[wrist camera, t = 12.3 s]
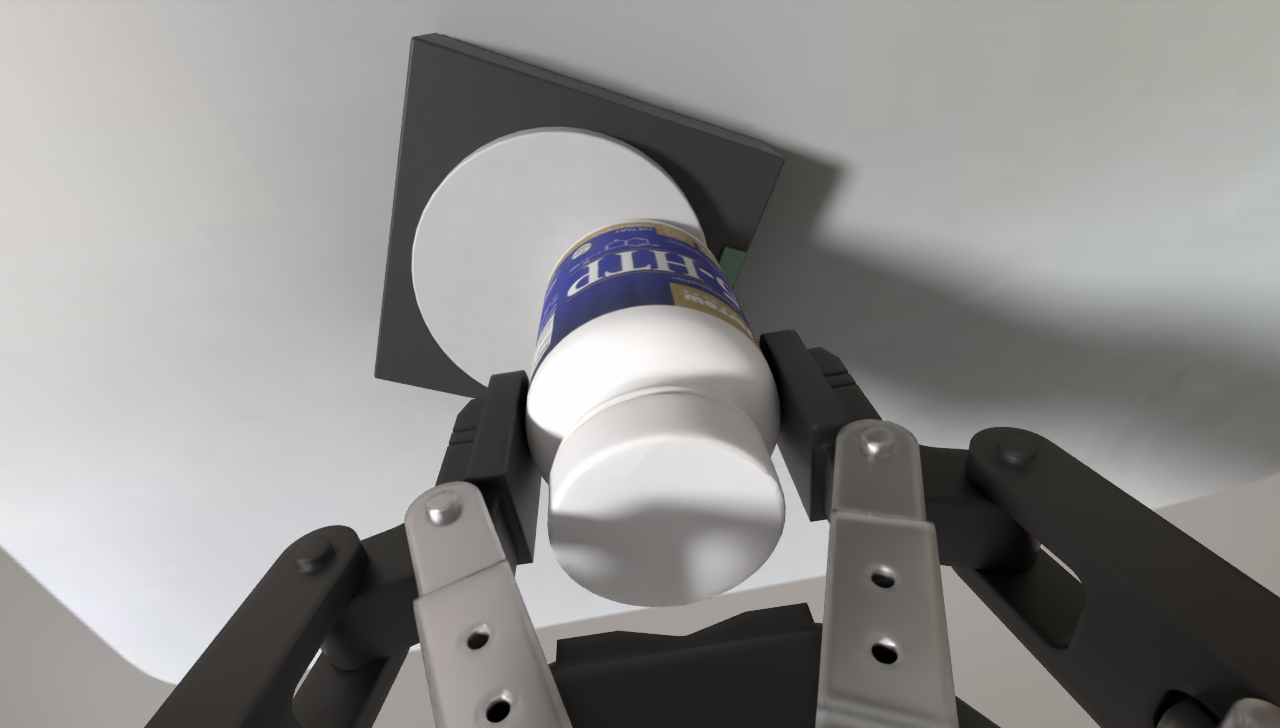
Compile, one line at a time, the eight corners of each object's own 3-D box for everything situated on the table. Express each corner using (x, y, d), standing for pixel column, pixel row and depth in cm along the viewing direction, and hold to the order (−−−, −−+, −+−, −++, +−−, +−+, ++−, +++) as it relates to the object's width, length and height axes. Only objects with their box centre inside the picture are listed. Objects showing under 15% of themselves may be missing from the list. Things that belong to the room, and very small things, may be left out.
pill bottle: (738, 219, 16) (869, 404, 9) (711, 380, 19) (794, 631, 11) (542, 208, 16) (501, 396, 8) (543, 376, 18) (512, 635, 11)
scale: (764, 141, 18) (795, 165, 16) (662, 400, 23) (672, 453, 20) (432, 31, 16) (401, 36, 14) (393, 342, 21) (365, 392, 18)
